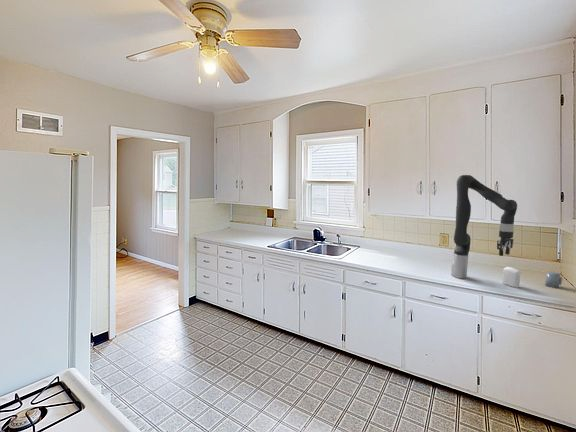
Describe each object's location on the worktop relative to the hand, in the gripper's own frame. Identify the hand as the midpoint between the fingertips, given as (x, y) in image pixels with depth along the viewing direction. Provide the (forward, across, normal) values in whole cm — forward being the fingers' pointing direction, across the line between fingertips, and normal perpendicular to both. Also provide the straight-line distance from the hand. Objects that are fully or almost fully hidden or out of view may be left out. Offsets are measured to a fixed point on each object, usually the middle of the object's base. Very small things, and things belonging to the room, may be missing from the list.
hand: (504, 255), depth 198 cm
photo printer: (+23, -11, 0) cm, 25 cm away
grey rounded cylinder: (+23, -34, +13) cm, 43 cm away
